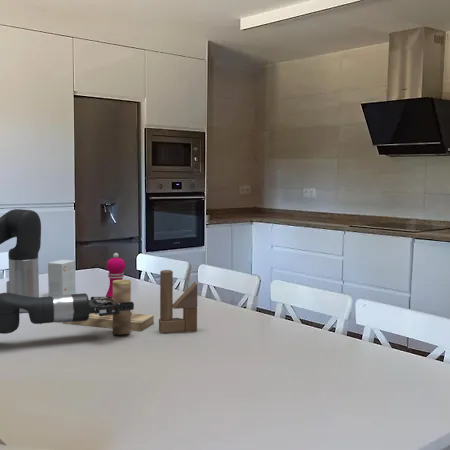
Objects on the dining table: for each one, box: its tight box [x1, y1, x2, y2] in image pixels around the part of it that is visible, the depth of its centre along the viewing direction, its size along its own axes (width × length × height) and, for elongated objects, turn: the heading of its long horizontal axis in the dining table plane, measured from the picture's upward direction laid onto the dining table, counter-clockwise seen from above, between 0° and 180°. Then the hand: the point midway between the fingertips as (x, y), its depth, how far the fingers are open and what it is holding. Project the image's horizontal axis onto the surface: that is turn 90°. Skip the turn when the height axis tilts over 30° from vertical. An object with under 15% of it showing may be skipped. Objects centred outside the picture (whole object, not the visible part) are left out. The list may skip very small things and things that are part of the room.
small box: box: [47, 259, 77, 297], centre depth 207 cm, size 8×6×13 cm
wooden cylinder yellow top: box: [112, 279, 133, 335], centre depth 161 cm, size 5×8×15 cm, turn 164°
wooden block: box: [158, 269, 198, 334], centre depth 164 cm, size 4×11×18 cm, turn 105°
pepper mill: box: [105, 252, 126, 309], centre depth 183 cm, size 7×7×20 cm
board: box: [64, 312, 155, 332], centre depth 172 cm, size 26×9×3 cm, turn 74°
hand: (130, 303), depth 161 cm, fingers closed on wooden cylinder yellow top, 5 cm apart
